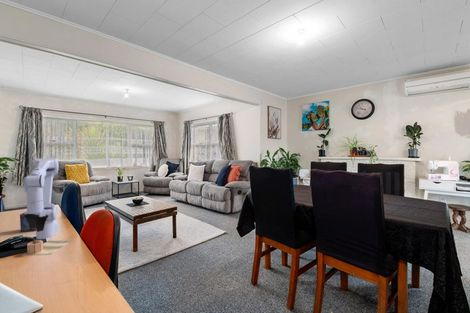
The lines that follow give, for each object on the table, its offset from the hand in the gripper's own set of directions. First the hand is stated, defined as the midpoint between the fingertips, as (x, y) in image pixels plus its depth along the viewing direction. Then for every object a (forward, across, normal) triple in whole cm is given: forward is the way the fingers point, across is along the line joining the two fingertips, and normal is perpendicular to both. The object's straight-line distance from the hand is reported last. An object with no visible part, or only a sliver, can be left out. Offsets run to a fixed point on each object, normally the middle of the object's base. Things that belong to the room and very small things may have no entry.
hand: (36, 229), depth 104 cm
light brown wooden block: (+8, +5, -2) cm, 10 cm away
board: (+9, +6, +2) cm, 11 cm away
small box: (+10, -36, +11) cm, 39 cm away
